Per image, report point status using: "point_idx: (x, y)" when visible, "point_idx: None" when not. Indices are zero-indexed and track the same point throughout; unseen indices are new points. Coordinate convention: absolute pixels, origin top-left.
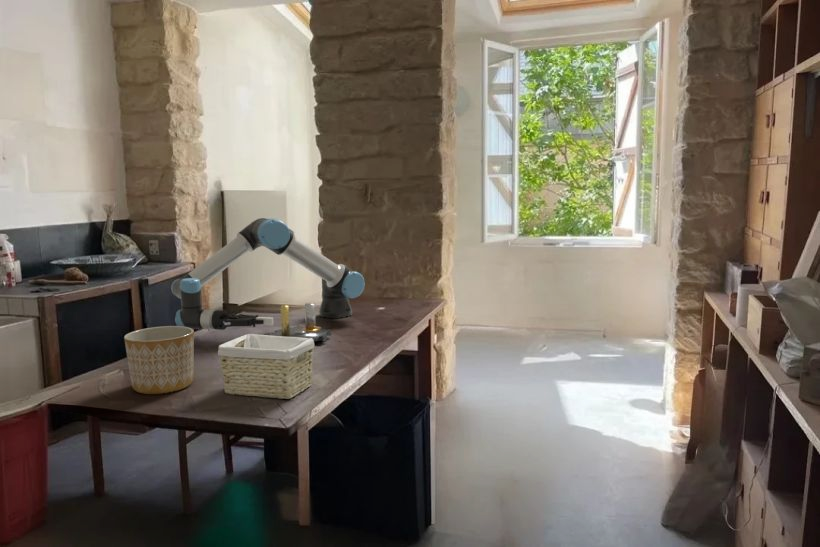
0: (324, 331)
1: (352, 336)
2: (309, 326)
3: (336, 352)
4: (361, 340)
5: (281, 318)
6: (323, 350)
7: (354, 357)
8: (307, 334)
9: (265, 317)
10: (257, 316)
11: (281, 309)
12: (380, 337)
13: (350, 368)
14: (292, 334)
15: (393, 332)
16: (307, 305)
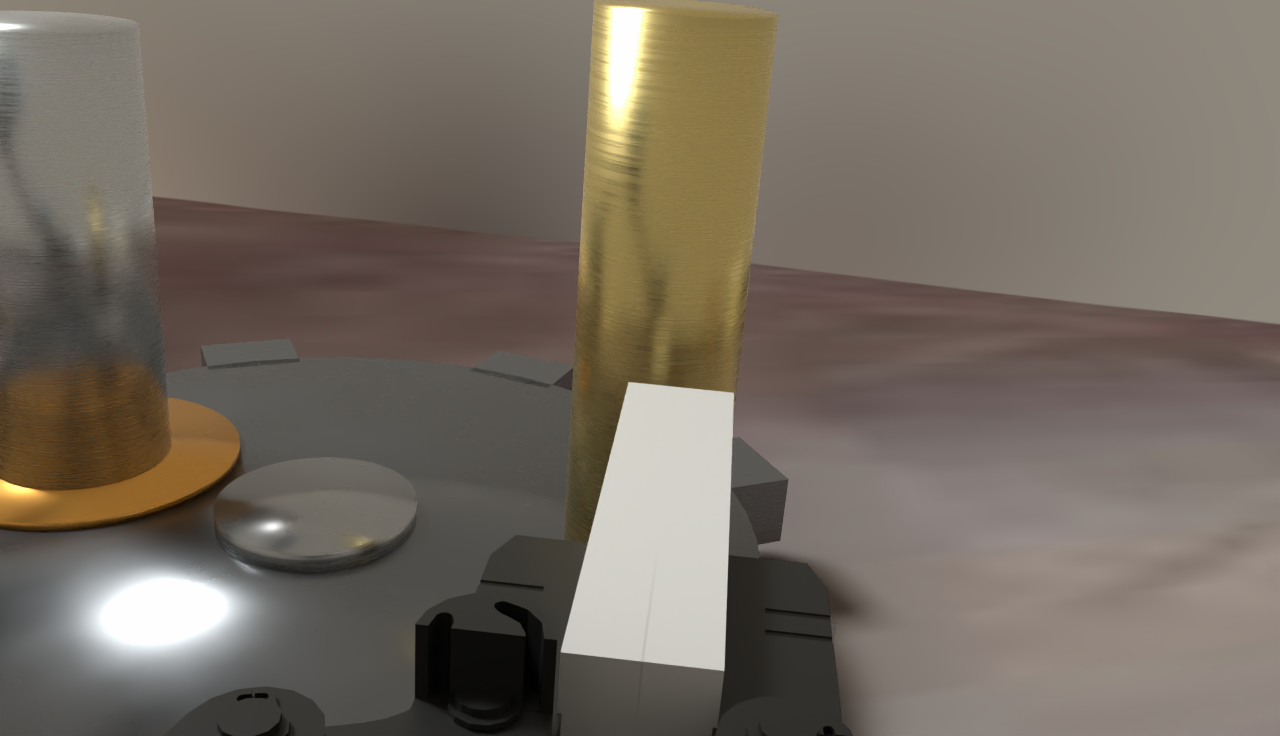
0: (296, 369)
1: (214, 342)
2: (165, 401)
3: (855, 391)
4: (403, 311)
5: (727, 302)
6: (812, 449)
7: (962, 331)
8: (453, 460)
9: (621, 483)
10: (526, 638)
11: (760, 93)
12: (315, 257)
13: (1241, 340)
14: (433, 584)
15: (156, 222)
16: (123, 43)
